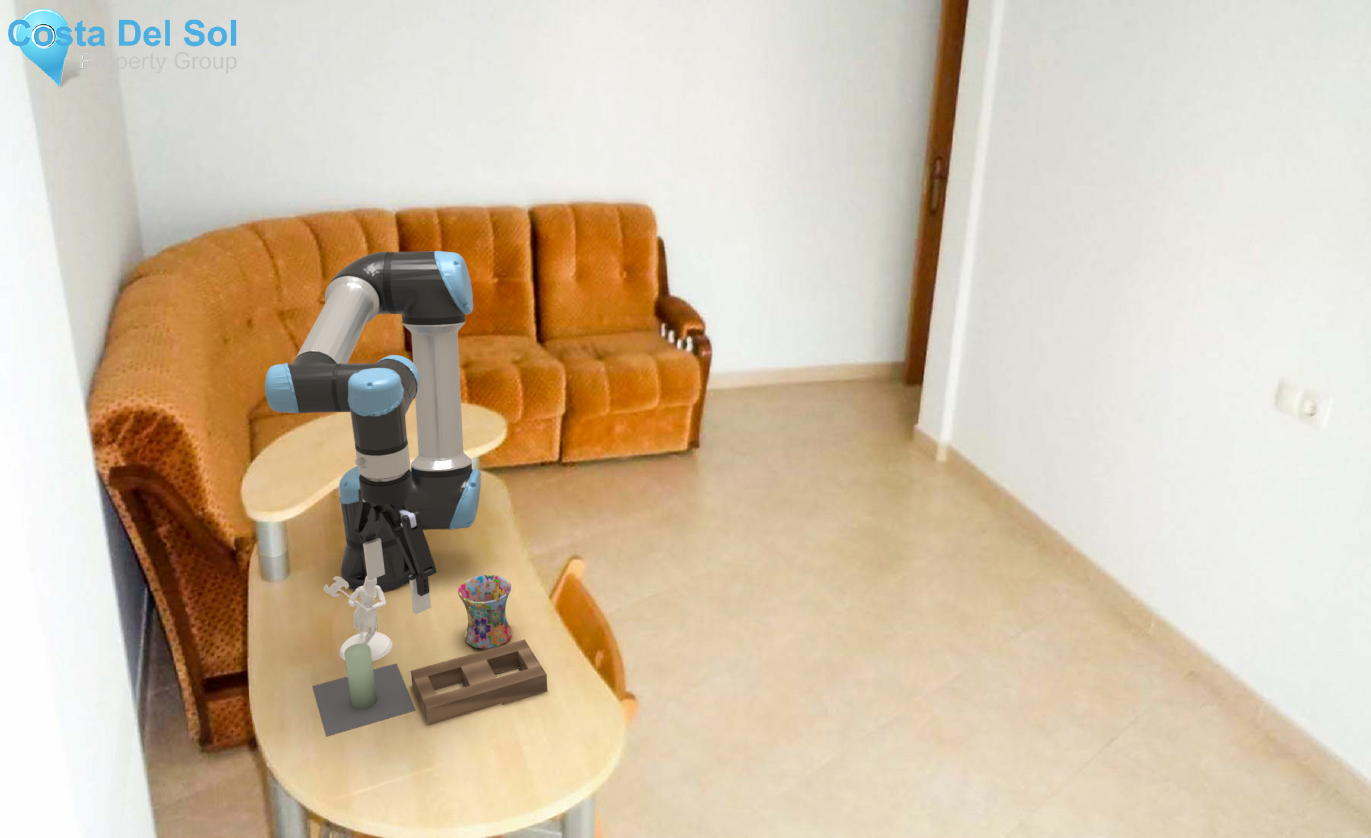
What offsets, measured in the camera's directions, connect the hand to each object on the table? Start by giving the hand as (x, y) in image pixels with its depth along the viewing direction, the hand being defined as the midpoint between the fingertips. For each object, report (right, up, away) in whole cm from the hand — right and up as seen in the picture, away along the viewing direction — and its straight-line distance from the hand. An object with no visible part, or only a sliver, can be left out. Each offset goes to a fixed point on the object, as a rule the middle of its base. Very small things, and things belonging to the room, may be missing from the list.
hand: (398, 593), depth 156 cm
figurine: (-12, -14, +21) cm, 28 cm away
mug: (+9, -12, +26) cm, 30 cm away
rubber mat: (-8, -19, +8) cm, 22 cm away
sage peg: (-8, -19, +7) cm, 22 cm away
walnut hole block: (+11, -18, +11) cm, 24 cm away
